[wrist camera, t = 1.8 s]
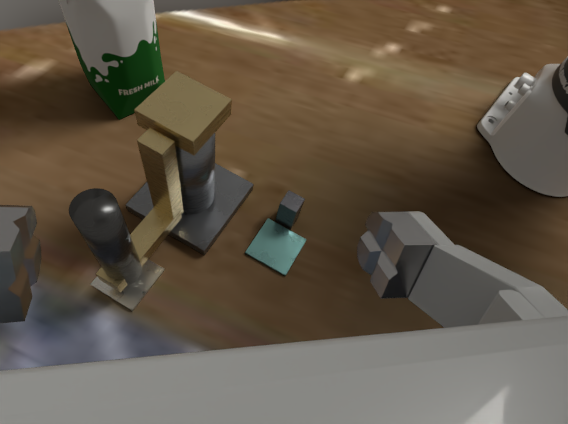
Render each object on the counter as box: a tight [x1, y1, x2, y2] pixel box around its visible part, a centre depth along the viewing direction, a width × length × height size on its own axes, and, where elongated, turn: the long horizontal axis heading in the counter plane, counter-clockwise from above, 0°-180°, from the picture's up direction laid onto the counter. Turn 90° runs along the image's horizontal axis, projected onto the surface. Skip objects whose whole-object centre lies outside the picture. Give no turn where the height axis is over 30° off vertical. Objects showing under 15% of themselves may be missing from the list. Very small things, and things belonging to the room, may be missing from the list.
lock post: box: [90, 133, 306, 311], centre depth 38 cm, size 18×18×13 cm
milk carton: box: [58, 0, 165, 120], centre depth 44 cm, size 9×9×20 cm
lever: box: [69, 71, 232, 293], centre depth 37 cm, size 16×6×13 cm, turn 152°
